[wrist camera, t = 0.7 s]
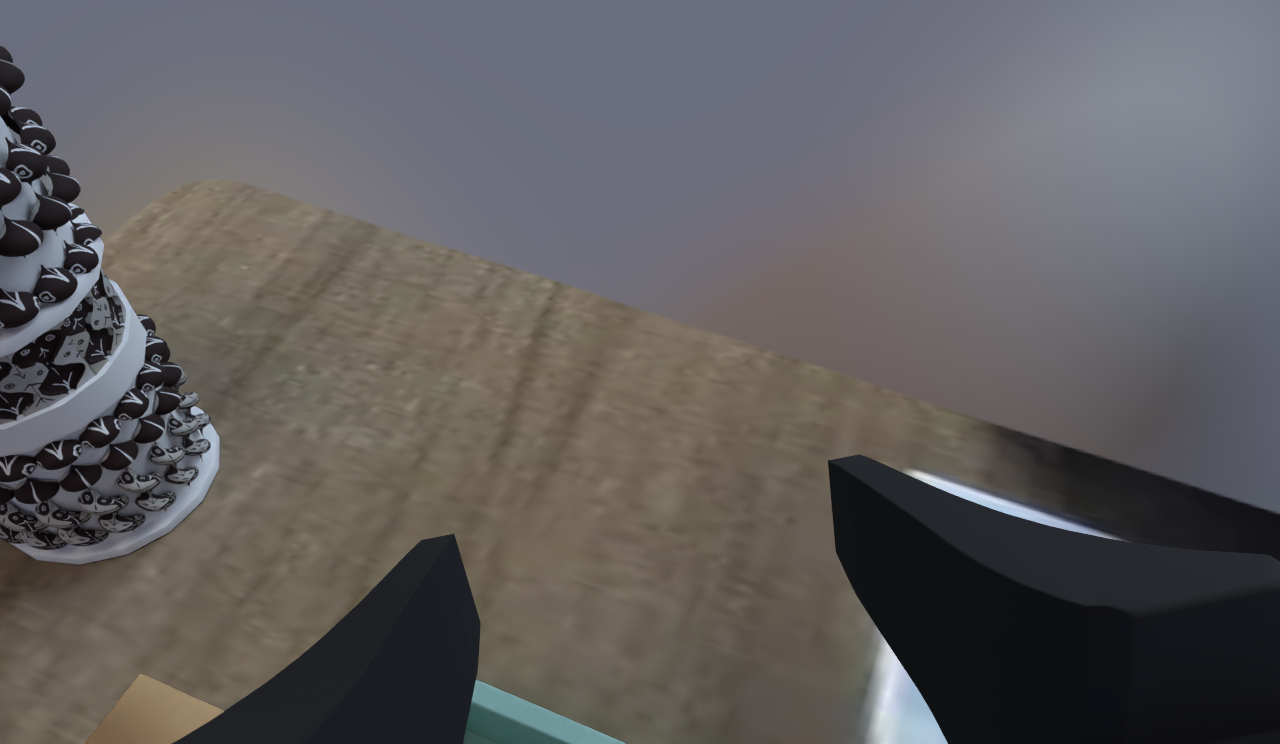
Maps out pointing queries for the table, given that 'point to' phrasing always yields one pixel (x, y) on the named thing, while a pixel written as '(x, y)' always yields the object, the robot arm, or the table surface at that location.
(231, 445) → the table surface
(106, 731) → the beech block
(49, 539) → the decorative candle
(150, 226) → the table surface
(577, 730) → the desk bin
